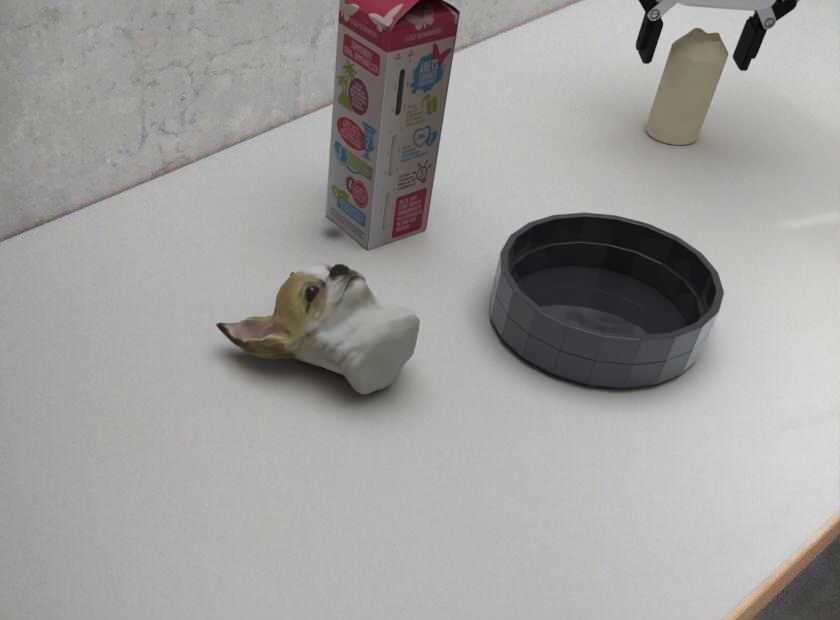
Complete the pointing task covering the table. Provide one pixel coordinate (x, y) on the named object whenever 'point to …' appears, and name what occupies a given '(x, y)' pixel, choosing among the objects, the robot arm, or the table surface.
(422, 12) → the juice carton
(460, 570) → the table surface
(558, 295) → the pan
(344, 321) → the ceramic sculpture
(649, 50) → the robot arm
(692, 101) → the candle
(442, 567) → the table surface
